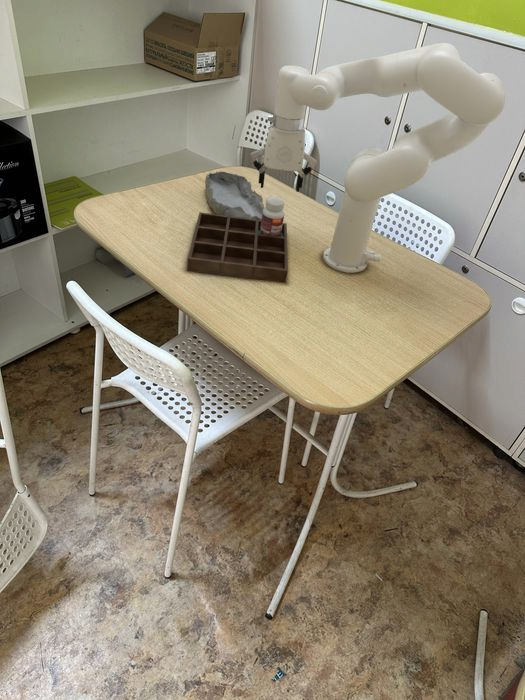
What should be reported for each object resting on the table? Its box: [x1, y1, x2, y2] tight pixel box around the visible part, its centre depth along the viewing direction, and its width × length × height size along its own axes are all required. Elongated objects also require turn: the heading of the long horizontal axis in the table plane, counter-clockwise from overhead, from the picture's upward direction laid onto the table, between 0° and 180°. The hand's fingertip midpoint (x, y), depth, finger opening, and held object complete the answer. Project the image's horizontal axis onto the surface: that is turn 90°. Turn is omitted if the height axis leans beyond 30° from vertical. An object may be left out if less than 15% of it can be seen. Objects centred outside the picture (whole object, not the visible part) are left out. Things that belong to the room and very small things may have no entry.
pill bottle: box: [260, 196, 285, 237], centre depth 147 cm, size 6×6×11 cm
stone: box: [204, 170, 265, 220], centre depth 162 cm, size 14×8×30 cm
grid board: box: [186, 211, 289, 284], centre depth 143 cm, size 26×26×4 cm
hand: (279, 187), depth 141 cm, fingers open, 9 cm apart
